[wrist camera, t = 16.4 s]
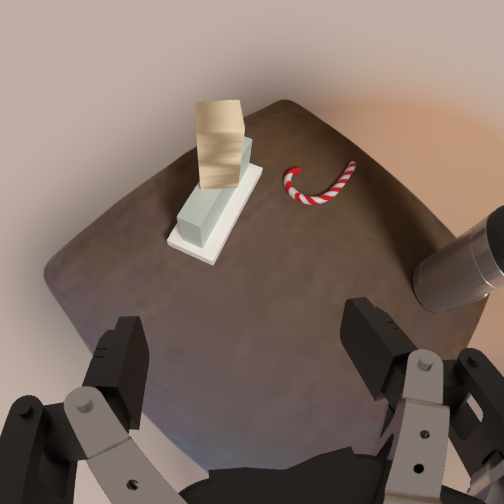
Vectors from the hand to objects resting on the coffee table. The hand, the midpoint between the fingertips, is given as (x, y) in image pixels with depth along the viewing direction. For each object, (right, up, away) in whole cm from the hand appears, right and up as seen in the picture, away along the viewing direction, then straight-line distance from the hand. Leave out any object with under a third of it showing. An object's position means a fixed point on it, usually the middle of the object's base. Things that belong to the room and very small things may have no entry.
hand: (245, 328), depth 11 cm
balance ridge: (-5, +10, +32) cm, 34 cm away
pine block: (-4, +13, +24) cm, 28 cm away
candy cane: (+12, +15, +37) cm, 41 cm away
